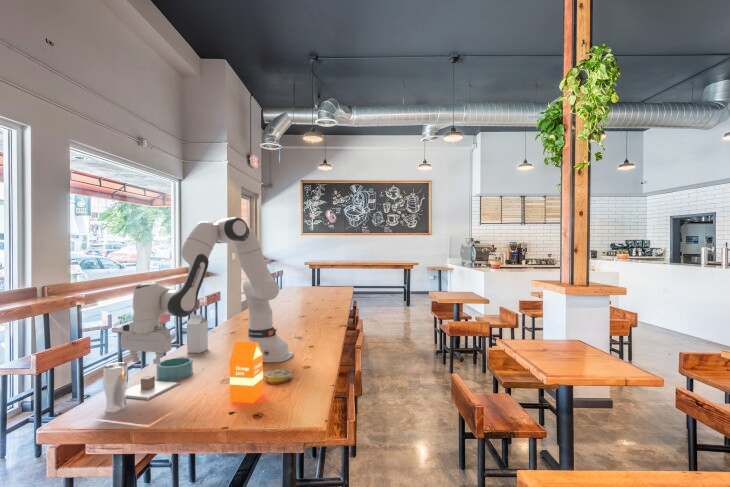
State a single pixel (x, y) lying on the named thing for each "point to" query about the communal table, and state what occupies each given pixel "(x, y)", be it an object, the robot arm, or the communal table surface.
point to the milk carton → (197, 334)
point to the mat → (154, 396)
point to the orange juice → (246, 372)
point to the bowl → (174, 369)
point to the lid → (148, 388)
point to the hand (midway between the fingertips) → (146, 362)
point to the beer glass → (115, 386)
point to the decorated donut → (278, 376)
